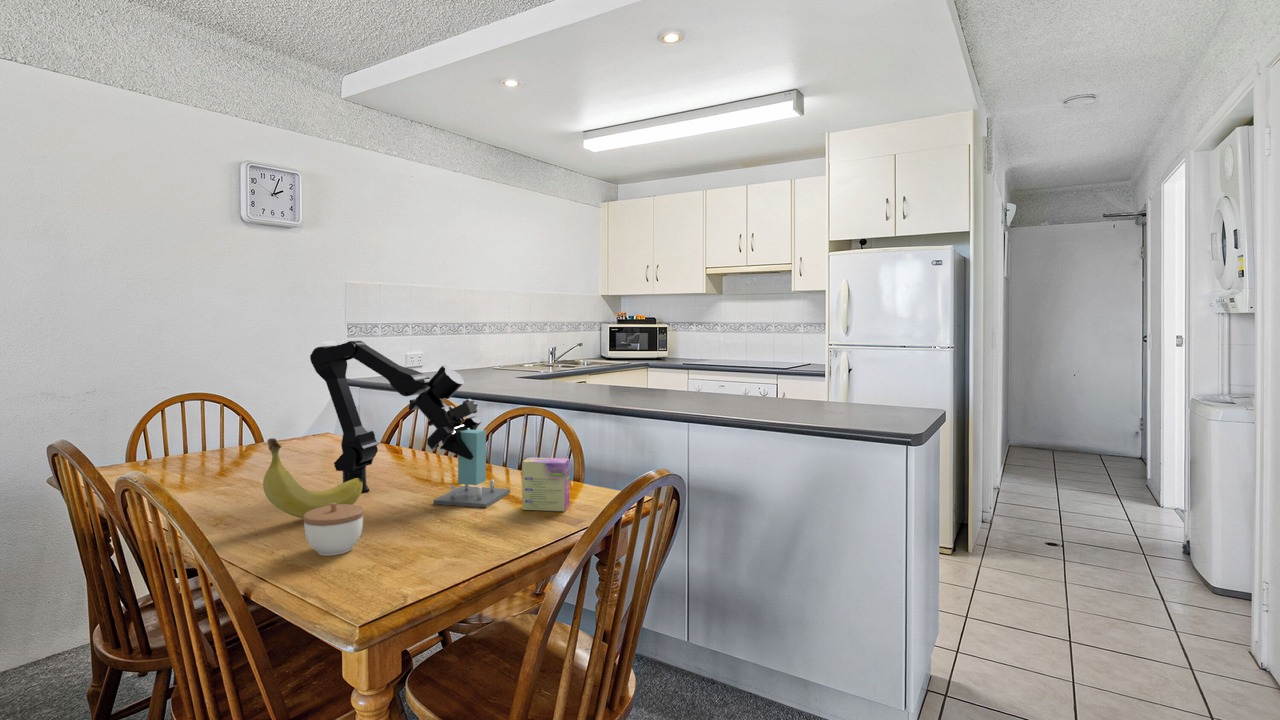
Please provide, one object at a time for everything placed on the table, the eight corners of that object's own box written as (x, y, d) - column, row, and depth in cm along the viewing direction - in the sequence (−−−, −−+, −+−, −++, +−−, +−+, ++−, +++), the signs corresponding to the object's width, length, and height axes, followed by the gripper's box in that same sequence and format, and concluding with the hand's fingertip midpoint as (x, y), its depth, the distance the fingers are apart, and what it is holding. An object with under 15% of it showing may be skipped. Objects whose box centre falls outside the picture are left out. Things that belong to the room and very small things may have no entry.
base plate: (433, 504, 160) (433, 488, 160) (461, 489, 174) (461, 474, 173) (486, 508, 157) (485, 491, 157) (510, 492, 171) (510, 477, 170)
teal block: (458, 483, 163) (458, 432, 163) (467, 479, 168) (468, 429, 167) (476, 485, 162) (476, 433, 161) (485, 480, 167) (486, 430, 166)
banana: (355, 504, 160) (353, 423, 159) (369, 508, 157) (367, 426, 155) (259, 529, 141) (256, 438, 140) (273, 534, 138) (270, 440, 137)
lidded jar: (342, 562, 122) (341, 513, 122) (291, 558, 124) (290, 510, 124) (375, 542, 133) (374, 497, 132) (328, 539, 135) (326, 495, 134)
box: (570, 505, 160) (569, 457, 159) (565, 512, 154) (564, 462, 153) (528, 504, 161) (528, 456, 160) (522, 510, 155) (521, 461, 154)
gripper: (437, 394, 155) (480, 442, 154) (474, 386, 174) (513, 428, 172) (408, 425, 158) (450, 473, 156) (447, 414, 176) (485, 456, 174)
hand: (477, 456), depth 164 cm, fingers closed on teal block, 5 cm apart
